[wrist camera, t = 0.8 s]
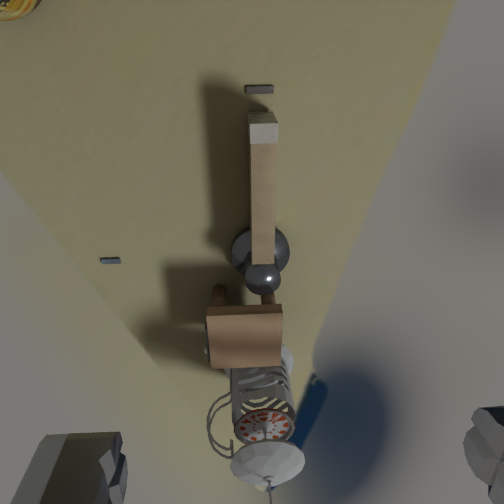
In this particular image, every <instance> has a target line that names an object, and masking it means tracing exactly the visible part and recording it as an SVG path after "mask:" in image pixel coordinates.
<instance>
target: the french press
mask: <svg viewBox="0 0 504 504" xmlns="http://www.w3.org/2000/svg"><path fill="white" fill-rule="evenodd" d="M293 365H294V360H293V356H292V353H291V352H290V351H289V350H288V349H287V348H286V347H285V346H284V345H282V344H281V366H268V367H247V368H227V369H224V370H225V373H226V375H227V377H228V378H229V379H230V392H228V393H227V394H225V395H223V396H221V397H219V398H218V399H217V400H216V401H215V402H214V403H213V405H212V406H211V408H210V409H209V412H208V416H207V431H208V438H209V441H210V443H211V446H212V448H213V450H214V451H215V452H217V453H218V454H219V455H220V456H222V457H225V458H227V459H232V461H231V464H230V468H231V470H232V473H233V474H234V476H236V477H237V478H239V479H241V480H242V481H244V482H247V483H249V484H251V485H253V486H269V498H270V504H272V497H271V486H276V485H278V484H281V483H283V482H285V481H287V480H290V479H292V478H293V477H294V476H295V475H297V474H298V473H299V472H300V471H301V470H302V468H303V466H304V464H305V459H304V454H303V452H302V451H301V450H300V449H299V448H298V447H297V446H296V445H294V444H293V443H291V442H288V441H286V440H287V439H288V438H289V437H290V436H292V434H293V432H294V429H295V424H294V420H295V416H296V415H295V409H294V403H293V397H292V391H291V386H290V380H289V374H290V373H291V372H292V368H293ZM283 383H284V385H285V386H284V385H281V384H283ZM240 392H241V394H240ZM230 394H231V399H230V401H229V402H227V403H225V404H223V405H221V406H220V407H219V408H218V409H217V410H216V411H214V413H213V415H212V417H211V419H210V413H211V411H212V409H213V407H214V405H215V404H216V403H217V402H218V401H219V400H220V399H222V398H224V397H226V396H228V395H230ZM263 397H269V398H268V399H266V400H265V401H263V402H259V403H252V402H249V400H251V399H253V400H256V399H262V398H263ZM274 398H278V400H276V401H275V402H274V403H272V404H271V405H270V406H268V407H267V408H262V409H257V410H249V409H247V408H245V407H244V406H243V405H242V403H245V404H246V405H249V406H251V407H253V408H256V407H263V406H264V405H265V404H267V403H268V402H270V401H271V400H273V399H274ZM283 400H284V401H286V403H285V404H283V405H282V406H280V407H279V408H278V409H272V408H274V407H275V406H276V405H278V404H279V403H280V402H282V401H283ZM231 402H232V423H233V425H234V433H235V435H236V438H237V439H238V440H240V441H241V442H243V443H244V444H245V445H244V446H242V447H241V448H240V449H239V450H238V451H237V452H236V453H235V454H234V450H233V440H232V439H231V440H230V448H226V447H224V446H221V445H220V444H218V443H217V442H216V441H215V440H214V439H213V437H212V435H211V433H210V426H211V423H212V420H213V418H214V416H215V414H216V412H217V411H219V410H220V409H221V408H222V407H224V406H226V405H228V404H230V403H231ZM286 407H288V411H287V412H283V411H282V410H283V409H285V408H286ZM241 409H242V410H243V411H245V412H246V414H243V413H241ZM209 419H210V422H209ZM212 441H213V442H214V443H215V444H216V445H217V446H218V447H220V448H222V449H224V450H226V451H228V450H231V456H229V457H228V456H226V455H223V454H221V453H220V452H219V451H218V450H217V449H216V448H215V447H214V445H213V443H212Z"/></svg>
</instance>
